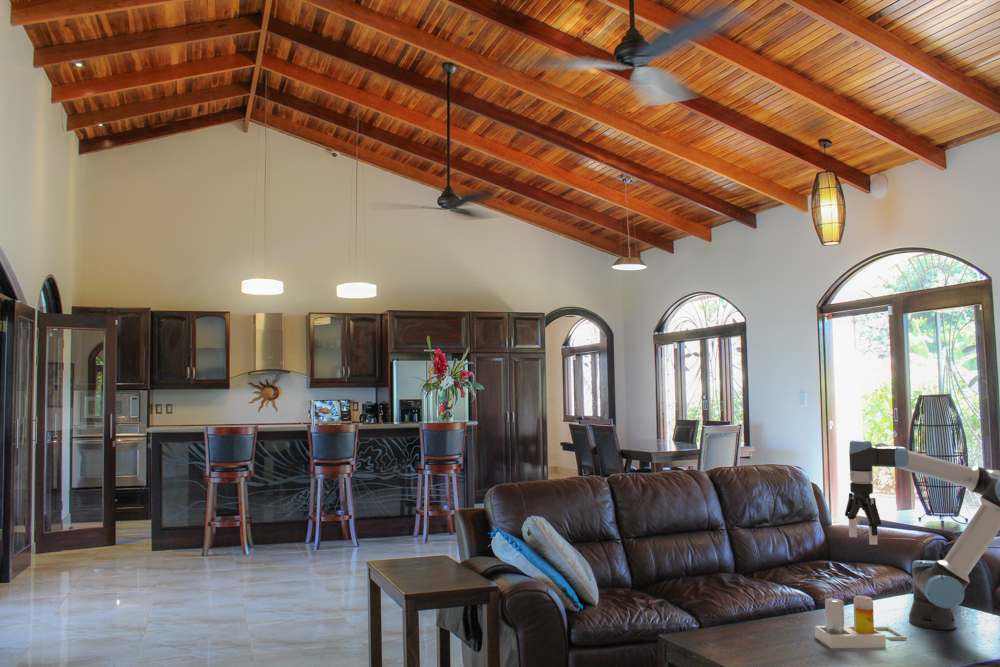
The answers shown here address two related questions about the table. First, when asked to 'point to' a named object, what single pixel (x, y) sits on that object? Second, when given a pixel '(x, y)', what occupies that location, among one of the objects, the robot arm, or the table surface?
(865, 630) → the beer can
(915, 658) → the table surface
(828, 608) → the shiny metal cylinder
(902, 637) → the empty picture frame
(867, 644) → the dock
